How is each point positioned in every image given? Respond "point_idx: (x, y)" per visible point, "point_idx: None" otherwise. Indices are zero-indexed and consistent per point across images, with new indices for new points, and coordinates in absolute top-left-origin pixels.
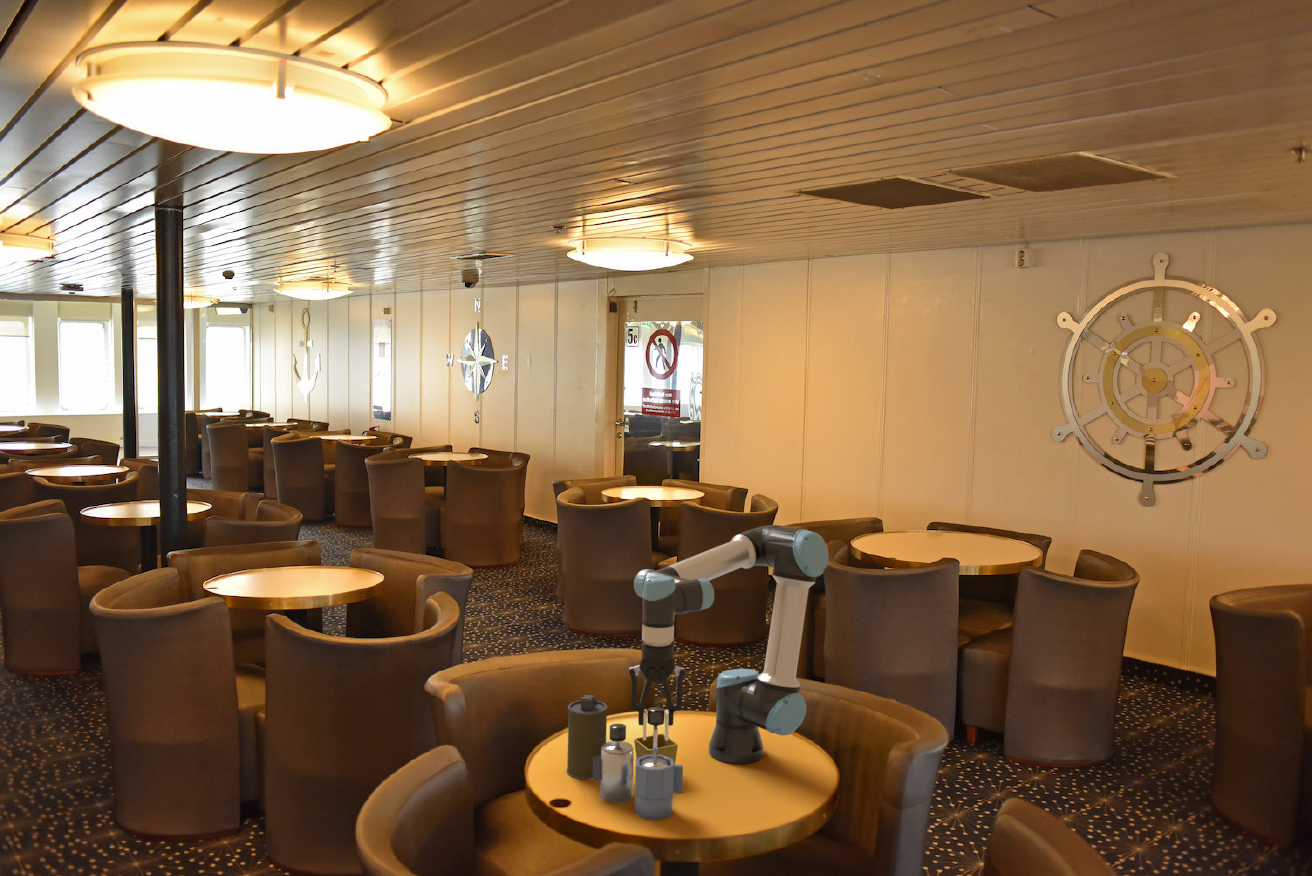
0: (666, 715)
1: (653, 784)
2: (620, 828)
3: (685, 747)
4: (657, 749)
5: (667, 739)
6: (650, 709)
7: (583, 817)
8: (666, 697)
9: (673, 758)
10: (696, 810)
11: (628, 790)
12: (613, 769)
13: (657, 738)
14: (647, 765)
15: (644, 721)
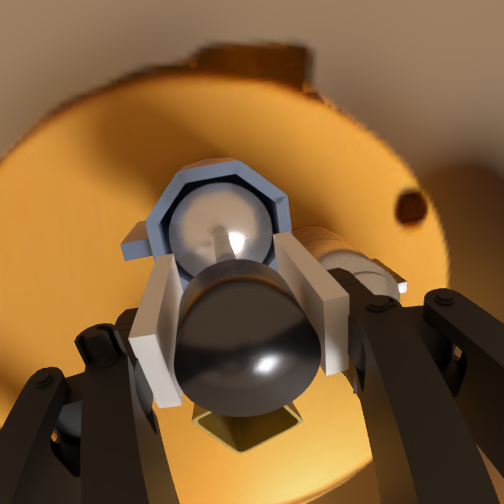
0: (149, 327)
1: (212, 161)
2: (280, 104)
3: (204, 461)
4: None
5: (160, 257)
6: (298, 366)
7: (365, 147)
8: (133, 459)
9: None
10: (116, 230)
11: None
12: (347, 250)
13: (249, 441)
14: (245, 210)
15: (317, 270)
